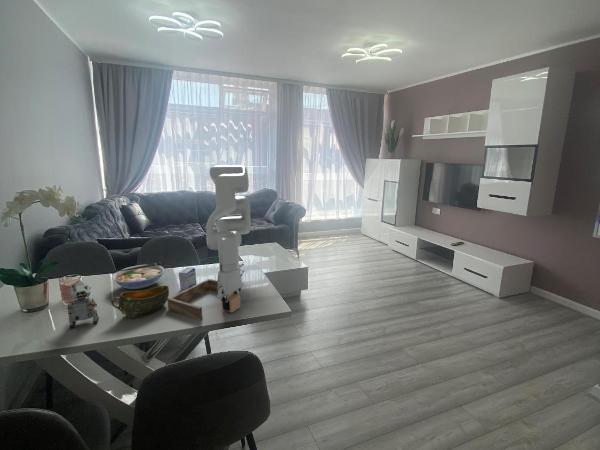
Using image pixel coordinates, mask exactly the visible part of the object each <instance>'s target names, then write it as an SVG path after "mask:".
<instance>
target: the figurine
mask: <svg viewBox="0 0 600 450" xmlns="http://www.w3.org/2000/svg"><path fill="white" fill-rule="evenodd" d="M91 288H92V287H91V286H90V285H88V284H87V283H85V282H76V283H75V284H72V286H71V288H70V296H71V297H72V298H73V300H74V301H71V302H69V303H68V305H67V306H66V307H67V308H66V309H67V315H68V324H69V326H68V328H69V329H70V330H71V329H74V328H75V326H76V324H77V322H79V321H84V320H85V321H86V320H89V319H92V320H93V321H92V324H93V325H97V324H98V321H99V319H100V317H99V316H98V310H97V309H96V308H97V307H98V303H96V301H95V300H94V298H89V296H90V295H91Z"/></svg>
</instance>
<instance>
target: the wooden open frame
mask: <svg viewBox="0 0 600 450" xmlns="http://www.w3.org/2000/svg"><path fill="white" fill-rule="evenodd" d="M213 290H214V292H216V293H218V290H217V279H212V278H208V279H205V280H203V281H202V282H199V283H196V284H195V285H194V286H193V287H191V288H189V289H186V290H184V289H183V290H182V291H181V292H179V293H177V294H174V295H171V296H170V297H168V299H167V301H166V303H167V309H168V311H171V312H174V313H177V314H180V315H183V316H185V317H190V318H192V319H195V320H199V321H201V320H203V307H202V306H200V305H199V306H198V305H195V304H193V303H188V302H189V301H191V300H192V299H195V298H196V297H198V296H200V295H202V294H204V293H206V292H208V291H213Z"/></svg>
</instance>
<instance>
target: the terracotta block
mask: <svg viewBox="0 0 600 450" xmlns="http://www.w3.org/2000/svg"><path fill="white" fill-rule="evenodd" d="M224 298H226V296H225V297H224ZM220 301H221V300H220ZM228 302H229V305H230V310H229V311H227V310H223V302H222V301H221V302H220V303H221V305H220V306H221V310H222V311H225V312H227V313H228V312H229V313H234V312H235V311H237V310H238V309H239V308H241V307H242V306H241V294H240V295H239V294H235V293H231V294H230V295H229V299H228Z"/></svg>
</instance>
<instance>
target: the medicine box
mask: <svg viewBox="0 0 600 450" xmlns="http://www.w3.org/2000/svg"><path fill="white" fill-rule="evenodd" d="M178 281H179V288H180V290H183V291H184V290H186V289H189V288H191V287H193V286H195V285H197V273H196V267H191V266H190V267H189V266H187V267H186V268H184V269H182V270H181V271H180V272H179V273H178Z"/></svg>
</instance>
